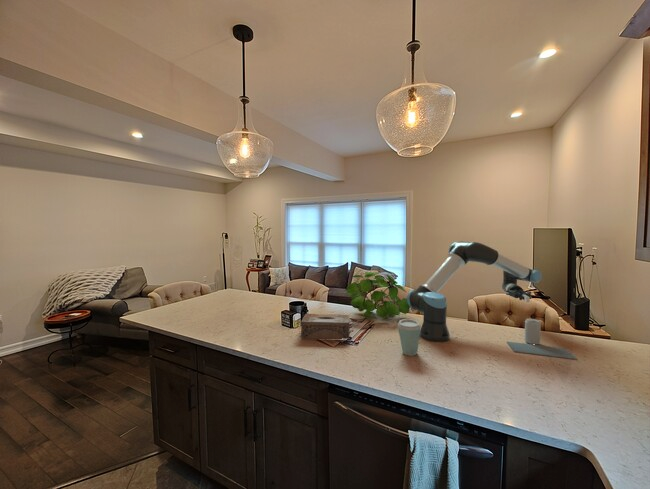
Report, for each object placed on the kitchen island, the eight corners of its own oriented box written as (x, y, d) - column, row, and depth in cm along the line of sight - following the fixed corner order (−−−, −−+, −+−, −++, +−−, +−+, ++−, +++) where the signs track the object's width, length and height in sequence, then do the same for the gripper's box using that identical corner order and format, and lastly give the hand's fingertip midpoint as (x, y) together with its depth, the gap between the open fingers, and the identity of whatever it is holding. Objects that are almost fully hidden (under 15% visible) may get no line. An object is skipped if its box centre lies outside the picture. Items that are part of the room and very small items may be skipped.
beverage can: (525, 344, 138) (526, 321, 137) (523, 339, 143) (524, 317, 143) (541, 346, 135) (542, 322, 134) (538, 341, 140) (539, 319, 140)
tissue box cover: (301, 339, 146) (301, 321, 145) (305, 330, 160) (305, 313, 159) (349, 341, 143) (349, 322, 143) (349, 331, 157) (349, 314, 157)
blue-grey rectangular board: (514, 351, 129) (514, 350, 129) (506, 342, 140) (506, 341, 140) (577, 359, 120) (577, 358, 120) (564, 349, 131) (564, 348, 131)
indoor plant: (397, 296, 214) (406, 265, 199) (406, 337, 178) (419, 303, 163) (342, 289, 215) (348, 257, 200) (341, 329, 179) (347, 294, 164)
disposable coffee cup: (422, 358, 122) (422, 326, 121) (398, 357, 124) (398, 324, 123) (419, 349, 132) (419, 319, 132) (396, 347, 134) (396, 317, 134)
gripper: (526, 297, 166) (542, 307, 144) (502, 295, 171) (513, 305, 148) (527, 285, 166) (542, 293, 144) (502, 284, 170) (513, 292, 148)
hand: (528, 299), depth 146 cm, fingers closed
